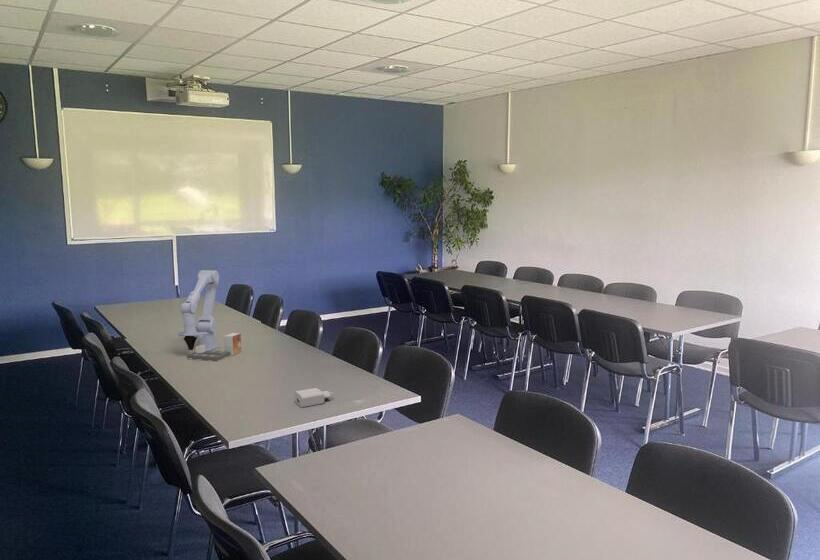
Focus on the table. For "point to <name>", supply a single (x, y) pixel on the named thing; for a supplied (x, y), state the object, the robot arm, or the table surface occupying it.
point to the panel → (209, 355)
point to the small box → (232, 343)
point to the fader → (200, 348)
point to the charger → (311, 397)
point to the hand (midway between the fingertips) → (191, 349)
